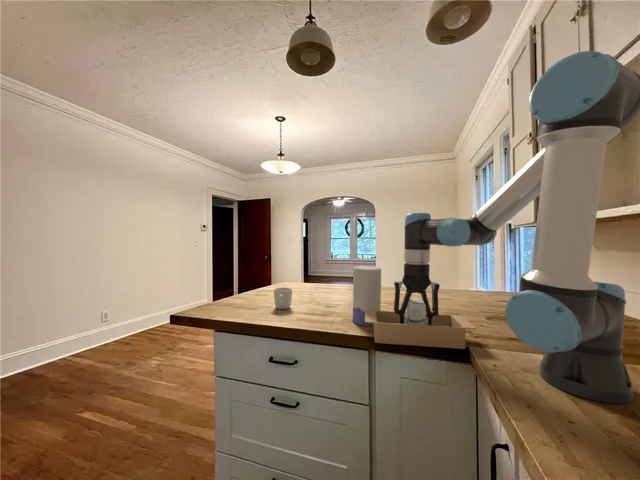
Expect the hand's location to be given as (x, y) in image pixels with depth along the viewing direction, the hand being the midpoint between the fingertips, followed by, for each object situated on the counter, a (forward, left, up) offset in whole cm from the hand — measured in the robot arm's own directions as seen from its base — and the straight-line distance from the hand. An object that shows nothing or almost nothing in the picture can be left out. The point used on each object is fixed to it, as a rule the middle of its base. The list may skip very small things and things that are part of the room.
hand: (415, 336), depth 90 cm
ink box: (0, 0, -1) cm, 1 cm away
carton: (0, 0, 0) cm, 0 cm away
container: (+13, +15, -1) cm, 20 cm away
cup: (+24, +50, -1) cm, 55 cm away
